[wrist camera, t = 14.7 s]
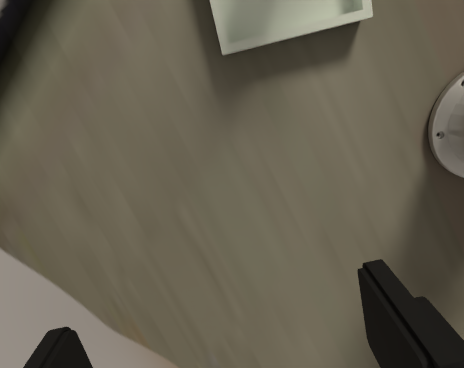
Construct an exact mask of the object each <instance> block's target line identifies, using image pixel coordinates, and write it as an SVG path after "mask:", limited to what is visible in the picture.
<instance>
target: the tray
mask: <svg viewBox="0 0 464 368" xmlns="http://www.w3.org/2000/svg"><path fill="white" fill-rule="evenodd" d="M210 4H211V8H212V12H213V17H214V21H215V25H216V30H217V34H218V38H219V43H220V47H221V51H222V56H225V55H228V54H232V53H236V52H240V51H244V50H248V49H252V48H256V47H260V46H264V45H268V44H272V43H276V42H280V41H284V40H288V39H292V38H296V37H300V36H304V35H307V34H311V33H315V32H319V31H323V30H327V29H331V28H335V27H339V26H343V25H347V24H351V23H355V22H359V21H362V20H365V19H368V18H371V17H373V12H372V2H371V0H210Z"/></svg>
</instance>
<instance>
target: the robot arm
mask: <svg viewBox="0 0 464 368" xmlns="http://www.w3.org/2000/svg"><path fill="white" fill-rule="evenodd" d="M461 83H462V84H461ZM428 139H429V143H430V148H431V150H432V152H433V155H434V157H435V158H436V160H437V161H438V162H439V163H440V165H441V166H443V167H444V168H445V169H446V170H448V171H449V172H451V173H453V174H455V175H458V176H460V177H463V178H464V72H462V73H461V74H459V75H458V76H457V77H456V78H455V79H454V80H452V81H451V82H450V83H449V84H448V85H447V87H446V88H445V89H444V90H443V92H442V93H441V94H440V96H439V98H438V99H437V101H436V103H435V105H434V107H433V110H432V113H431V115H430V120H429V126H428ZM358 278H359V285H360V292H361V299H362V306H363V313H364V320H365V327H366V334H367V339H368V343H369V345H370V348H371V350H372V352H373V354H374V356H375V358H376V360H377V362H378V363H379V365H380V367H381V368H464V340H463V339H462V338H461V337H460V336H459V335H458V334H457V332H456V331H455V330H454V329H453V328H452V327H451V326H450V324H449V323H448V322H447V321H446V320H445V319H444V318H443V316H442V315H441V314H440V313H439V312H438V311H437V310H436V308H435V307H434V306H433V305H432V304H431V303H430V302H429V301H428V300H427V299H426V298H425V297H423V296H421V297H416V298H413V296H412V295H411V294H410V293H409V291H408V290H407V289H406V288H405V287H404V285H403V284H402V283H401V282H400V281H399V279H398V278H397V277H396V276H395V274H394V273H393V272H392V271H391V270H390V268H389V267H388V266H387V265H386V264H385V262H384V261H383V260H381V259H380V260H375V261H370V262H366V263H363V268H360V269H358ZM23 368H93V367H92V365H91V363H90V361H89V359H88V356H87V354H86V352H85V350H84V348H83V345H82V344H81V341H80V339H79V337H78V335H77V333H76V331H74V330H71V329H70V328H69V327H63V328H58V329H53V330H50V331H48V332H47V333H46V335H45V336H44V338H43V339H42V341H41V342H40V344H39V345H38V346H37V348H36V349H35V351H34V353H33V354H32V355H31V357H30V358H29V360H28V361H27V363H26V364H25V366H24V367H23Z"/></svg>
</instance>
